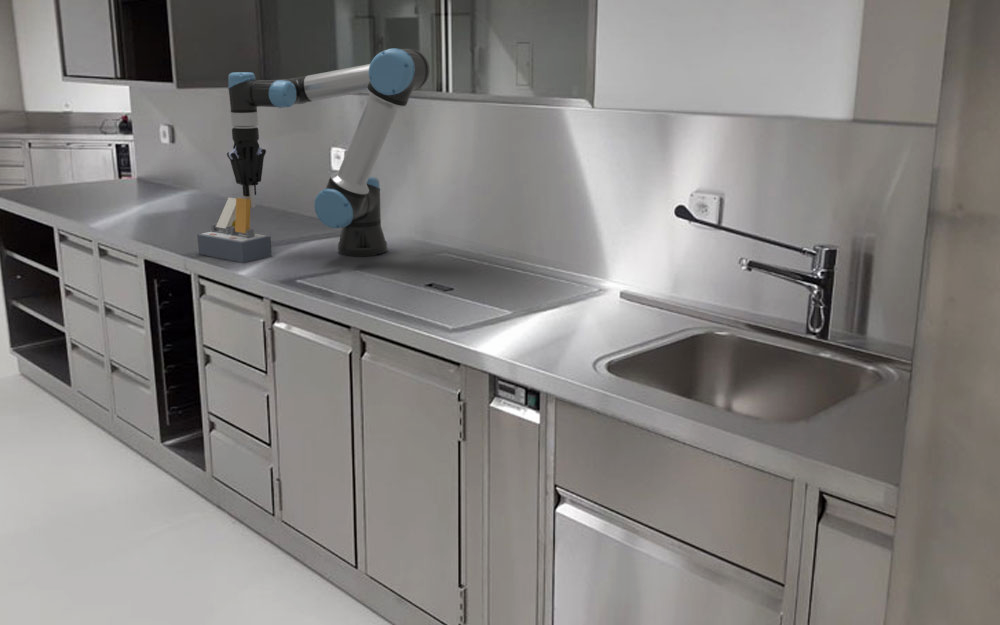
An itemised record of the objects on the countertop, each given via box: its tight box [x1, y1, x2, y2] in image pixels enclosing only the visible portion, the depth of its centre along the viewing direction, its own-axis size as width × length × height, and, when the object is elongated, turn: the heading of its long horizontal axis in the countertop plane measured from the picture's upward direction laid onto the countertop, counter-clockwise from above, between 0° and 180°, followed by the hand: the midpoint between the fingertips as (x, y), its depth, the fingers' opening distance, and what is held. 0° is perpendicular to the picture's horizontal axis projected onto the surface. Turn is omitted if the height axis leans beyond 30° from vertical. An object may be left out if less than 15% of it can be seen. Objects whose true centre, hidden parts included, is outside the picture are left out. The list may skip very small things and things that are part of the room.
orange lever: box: [234, 197, 251, 235], centre depth 275 cm, size 6×2×11 cm, turn 55°
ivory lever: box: [215, 197, 237, 232], centre depth 282 cm, size 6×2×11 cm
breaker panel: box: [197, 222, 273, 264], centre depth 279 cm, size 20×11×9 cm, turn 55°
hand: (250, 206), depth 277 cm, fingers closed
